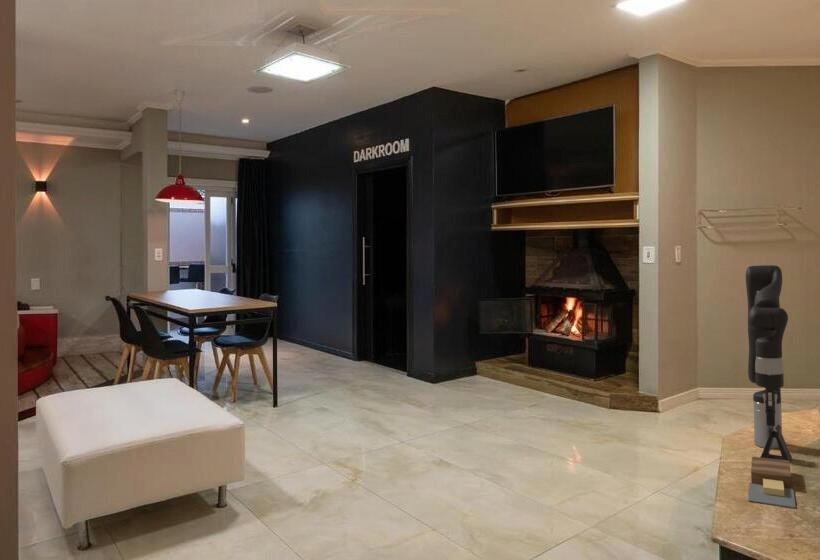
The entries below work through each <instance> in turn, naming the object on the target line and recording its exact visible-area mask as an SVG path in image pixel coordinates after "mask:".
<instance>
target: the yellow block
mask: <svg viewBox="0 0 820 560" xmlns="http://www.w3.org/2000/svg"><path fill="white" fill-rule="evenodd" d="M763 493H764V494H770V495H777V496H784V485H783V481H780V480H772V479H764V478H763Z"/></svg>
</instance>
